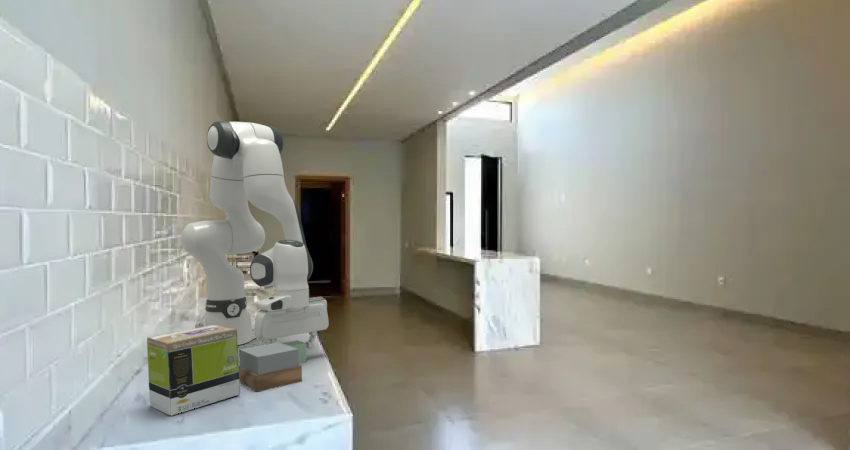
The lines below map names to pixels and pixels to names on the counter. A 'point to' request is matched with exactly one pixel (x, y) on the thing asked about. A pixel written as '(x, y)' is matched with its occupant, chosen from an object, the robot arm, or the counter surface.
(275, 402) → the counter surface
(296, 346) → the sage cube
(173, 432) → the counter surface
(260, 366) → the slate slab
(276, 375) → the walnut slab
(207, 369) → the tea box
